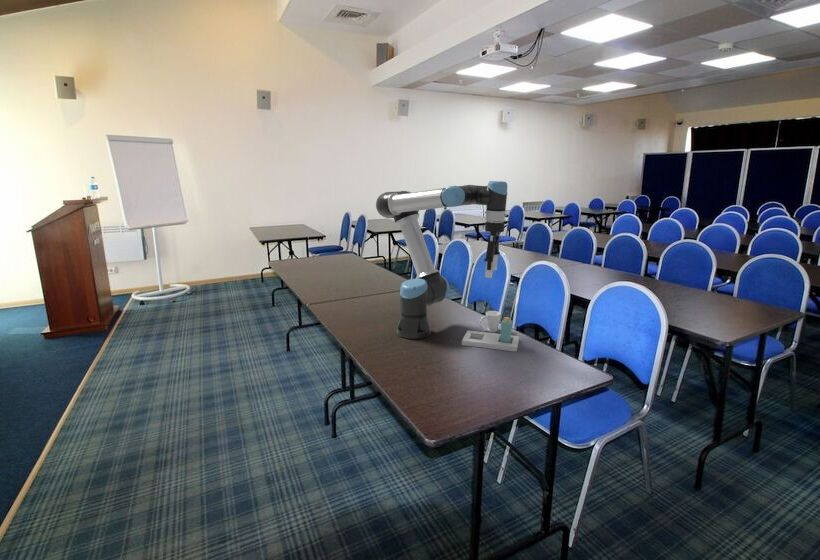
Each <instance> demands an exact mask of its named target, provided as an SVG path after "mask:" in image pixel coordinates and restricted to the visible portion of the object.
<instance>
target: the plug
mask: <svg viewBox="0 0 820 560" xmlns="http://www.w3.org/2000/svg"><path fill="white" fill-rule="evenodd" d="M512 329H513V320H510V317H508V316H507V317H506V316H504V317H503V319H501V321H500V333H499V334H500V342H508V343H511V335H512V332H513V331H512Z"/></svg>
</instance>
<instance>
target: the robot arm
mask: <svg viewBox="0 0 820 560" xmlns="http://www.w3.org/2000/svg"><path fill="white" fill-rule="evenodd" d="M507 201H508V182H507V181H503V180H502V181H501V180H499V181H498V180H489V181H488V183H487V185H478V184H477V185H475V184H464V185H450V186H448V187H440V188H434V189H428V190H420V191H413V192H412V191H409V190H400V191H399V190H398V191H386V192H383V193H381V194H380V195H379V196H378V197H377V199H376V203H375V208H376V211H377V213H378V214H379V215H380V216H381V217H383V218H386V219H393V220H394V222H395V223H394V224H395V225H397V226H399V227H400V229H401V232H402V236H403V239H404V241H405V244H406V247H407V250H408V253H409V256H410V258H411V261H412V264H413V266H414V269H415V273H416V277H415V278H411V279H407V280H405V281H403V282H402V283H401V284H400V288H399V289H400V291H399V298H400V300H399V301H400V305H399V306H400V308H399V309H400V317H399V320H398V323H397V327H396V334H397V336H399V337H401V338H404V339H412V340H417V339H424V338H427V337H429V336H430V335H431V334H432V328H431V327H432V326H431V324H430V320H429V318H428V307H429V306H431V305H434V304H437V303H440V302H442V301H444V300H445V299H446V298H447V297H448V296H449V294H450V284H449V281H448V279H447V278H446V277H444V276H442V275H441V273H440V270H438V269H437V268H435V265H434V263H433V261H432V257H431V254H430V251H429V249H428V246H427V244H426V241H425V237H424V234H423V232H422V228H421V225H420V223H419V220H418V219H419V217H420V213H419V212H420V211H425V210H426V211H427V210H436V209H443V208H453V207H462V206H472V205H477V206H486V209H485V223H484V224H485V225H484V231H485V232H488V233H490V234H489V235H488V237H487V245H486V246H487V247H486V255H485V258H484V262H485V271H484V278H488V279H493V274H494V273H493V272H494V271H497V270H498V260H499V259H498V258H499V255H500V254H501V252H500V250H499V249H500V233H504V231H505V225H506V224H505V220H506V217H507V216H508V214H507V213H506V211H507Z"/></svg>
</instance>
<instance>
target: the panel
mask: <svg viewBox="0 0 820 560" xmlns="http://www.w3.org/2000/svg"><path fill="white" fill-rule="evenodd" d="M500 334H501V333H496V332H492V333H491V332H487V331H486V332H485V331H475V330H466V333H465V334H464V336H463V338H462V339H461V346H467V347H475V348H476V347H477V348H481V349H482V348H484V349H492V350H501V351H509V352H516V353H517V351H518V347H519V343H520V335H512V334H511V343H508V342H500Z"/></svg>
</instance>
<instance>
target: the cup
mask: <svg viewBox="0 0 820 560" xmlns="http://www.w3.org/2000/svg"><path fill="white" fill-rule="evenodd" d="M501 315H502V313H501V312H500V311H496V310H487V311H486V312H485V315H482V316H481V317H480V318H479V322H478V323H479V327H480V328H481V329H483V330H484V331H486V332H490V333H491V332H492V333H496V332H497V331H498V329H499V325H500V322H501V321H500V320H501ZM484 318H485V319H486V320H485V321H486V326H487V329H486V328H484V327H483V326H482V324H481V323H482V320H483V319H484Z"/></svg>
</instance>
